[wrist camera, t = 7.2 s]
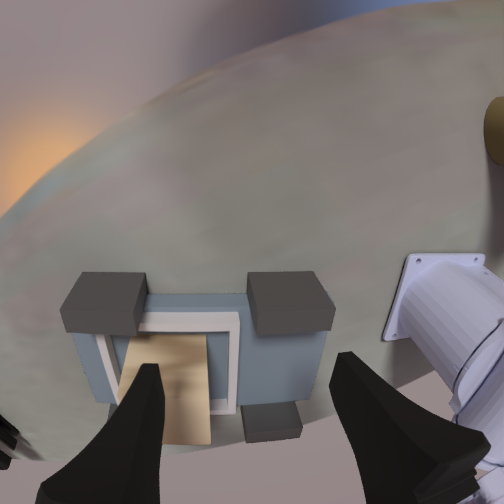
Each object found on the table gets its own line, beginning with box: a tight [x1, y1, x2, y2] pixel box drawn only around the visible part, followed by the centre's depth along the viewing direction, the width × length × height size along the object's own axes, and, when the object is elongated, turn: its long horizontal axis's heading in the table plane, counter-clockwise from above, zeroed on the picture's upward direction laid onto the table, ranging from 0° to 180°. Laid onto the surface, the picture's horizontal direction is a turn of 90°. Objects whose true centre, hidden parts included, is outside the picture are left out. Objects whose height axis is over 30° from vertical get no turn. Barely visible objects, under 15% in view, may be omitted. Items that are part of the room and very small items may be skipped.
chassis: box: [60, 271, 336, 445], centre depth 21 cm, size 18×13×4 cm
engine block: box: [117, 333, 211, 445], centre depth 19 cm, size 5×5×6 cm
